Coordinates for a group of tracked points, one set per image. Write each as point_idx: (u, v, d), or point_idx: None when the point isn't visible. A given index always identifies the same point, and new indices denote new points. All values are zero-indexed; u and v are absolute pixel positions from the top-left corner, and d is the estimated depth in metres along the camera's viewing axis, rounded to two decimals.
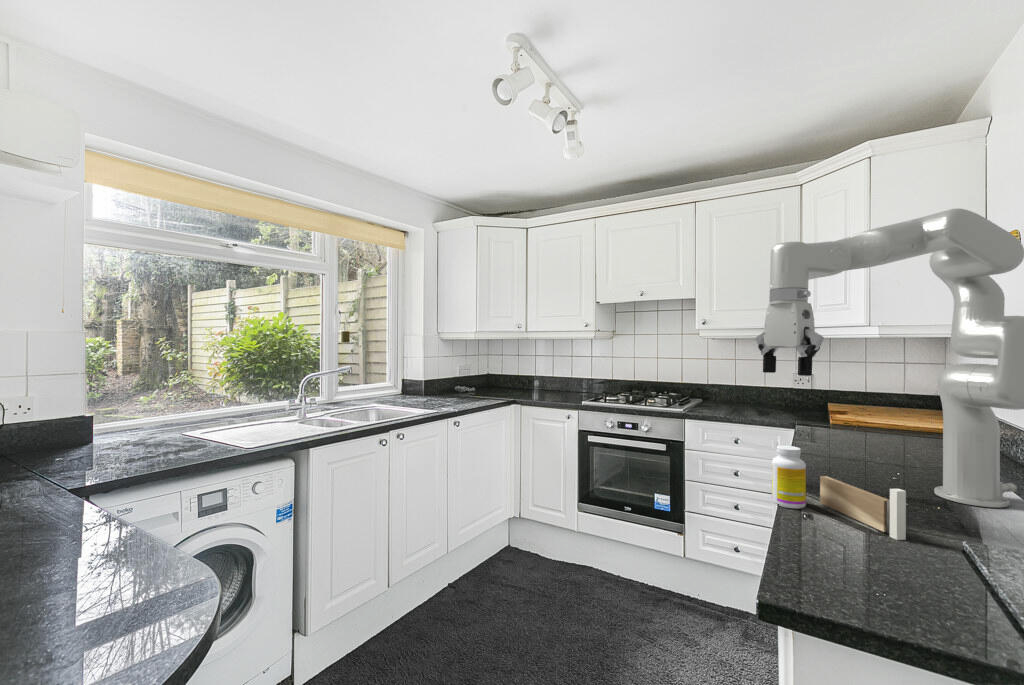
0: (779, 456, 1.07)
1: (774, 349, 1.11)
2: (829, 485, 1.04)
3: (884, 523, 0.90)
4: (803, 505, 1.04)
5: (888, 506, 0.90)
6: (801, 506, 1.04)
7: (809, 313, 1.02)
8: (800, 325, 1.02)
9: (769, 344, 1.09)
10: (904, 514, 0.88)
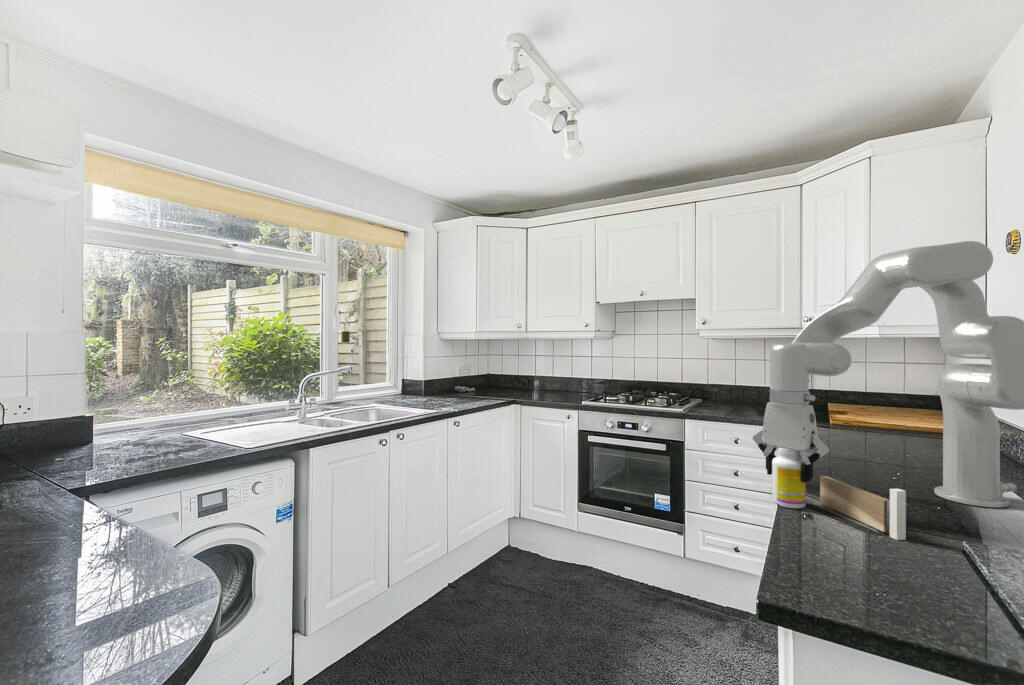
0: (779, 456, 1.07)
1: (774, 448, 1.10)
2: (829, 485, 1.04)
3: (884, 523, 0.90)
4: (803, 505, 1.04)
5: (888, 506, 0.90)
6: (801, 506, 1.04)
7: (813, 416, 1.03)
8: (809, 430, 1.02)
9: (771, 443, 1.08)
10: (904, 514, 0.88)
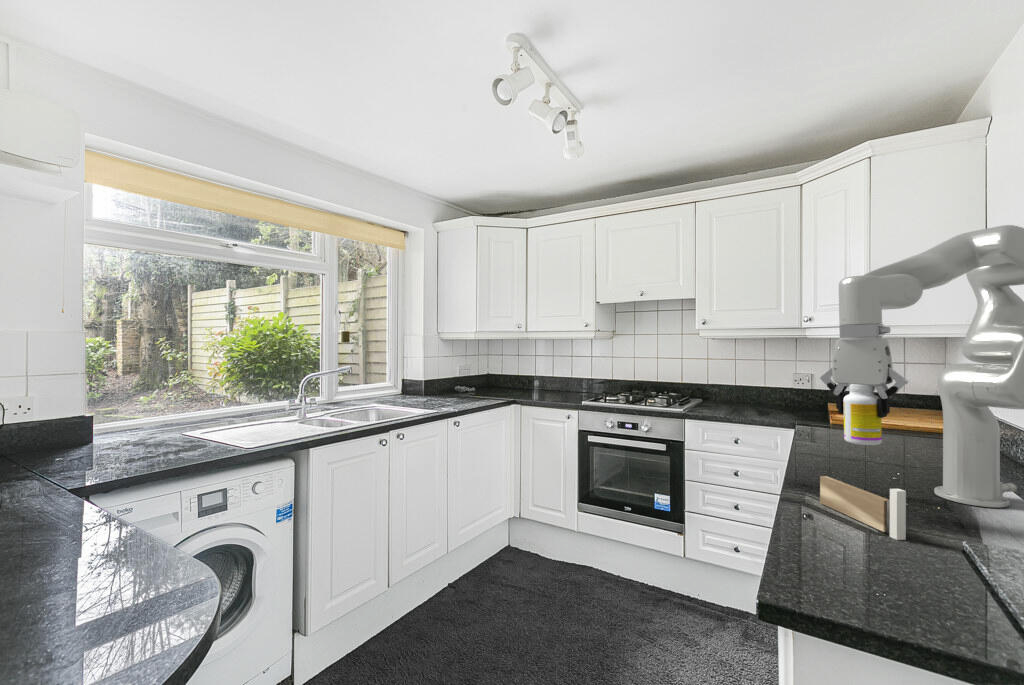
0: (852, 393, 1.03)
1: (845, 387, 1.06)
2: (829, 485, 1.04)
3: (884, 523, 0.90)
4: (880, 441, 1.00)
5: (888, 506, 0.90)
6: (878, 442, 1.00)
7: (888, 350, 1.00)
8: (885, 363, 0.98)
9: (842, 381, 1.04)
10: (904, 514, 0.88)
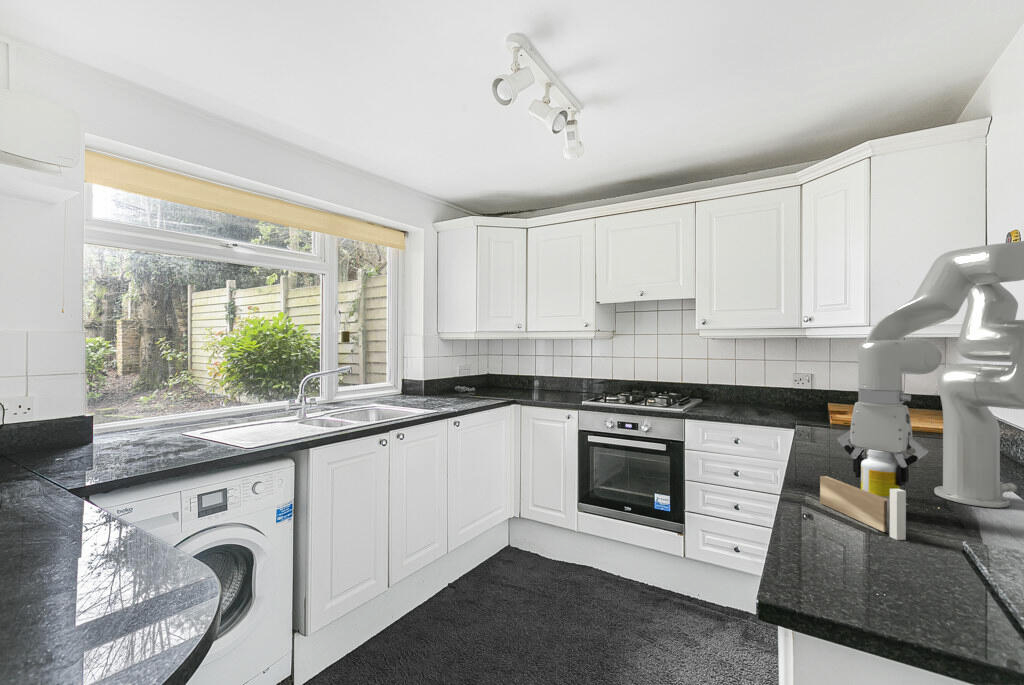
0: (870, 458, 1.02)
1: (862, 450, 1.05)
2: (829, 485, 1.04)
3: (884, 523, 0.90)
4: None
5: (888, 506, 0.90)
6: None
7: (908, 417, 0.99)
8: (905, 431, 0.97)
9: (860, 445, 1.03)
10: (904, 514, 0.88)
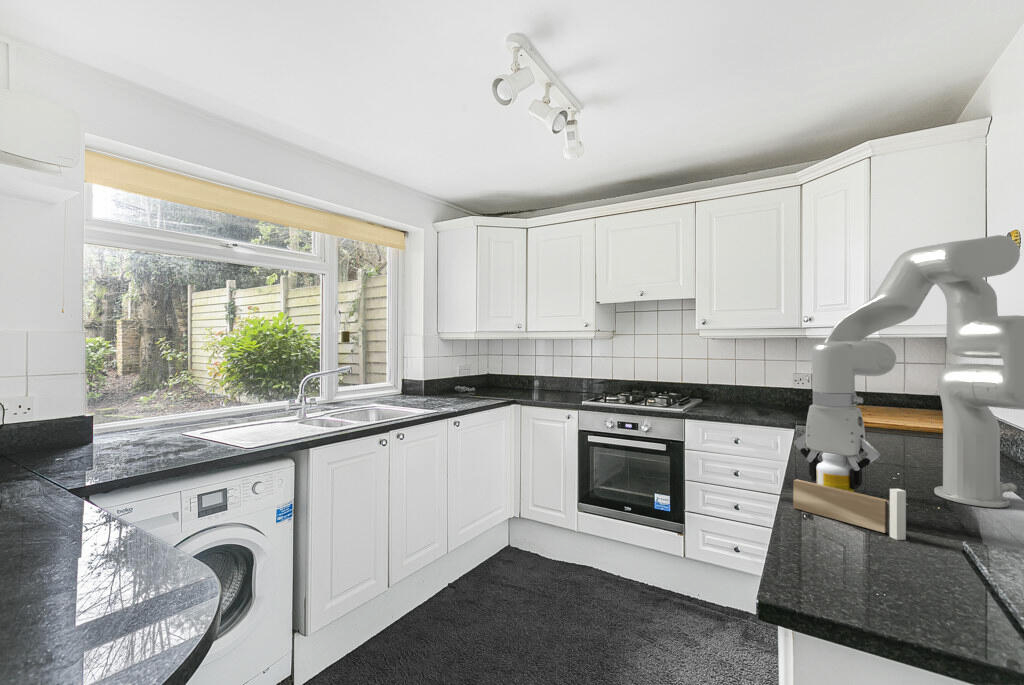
0: (825, 461, 1.01)
1: (818, 453, 1.05)
2: (807, 489, 1.01)
3: (885, 524, 0.90)
4: None
5: (889, 506, 0.90)
6: None
7: (861, 420, 0.98)
8: (857, 434, 0.96)
9: (815, 448, 1.02)
10: (904, 514, 0.88)
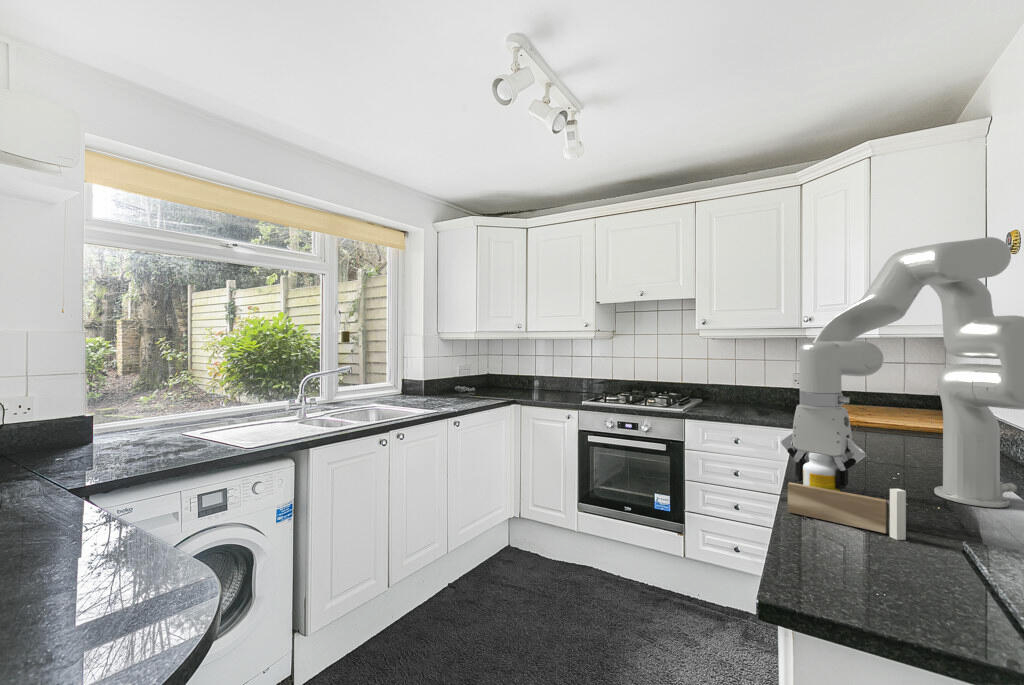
0: (811, 461, 1.01)
1: (805, 453, 1.04)
2: (802, 492, 0.99)
3: (885, 524, 0.90)
4: None
5: None
6: None
7: (847, 420, 0.98)
8: (843, 434, 0.96)
9: (801, 448, 1.02)
10: (904, 514, 0.88)
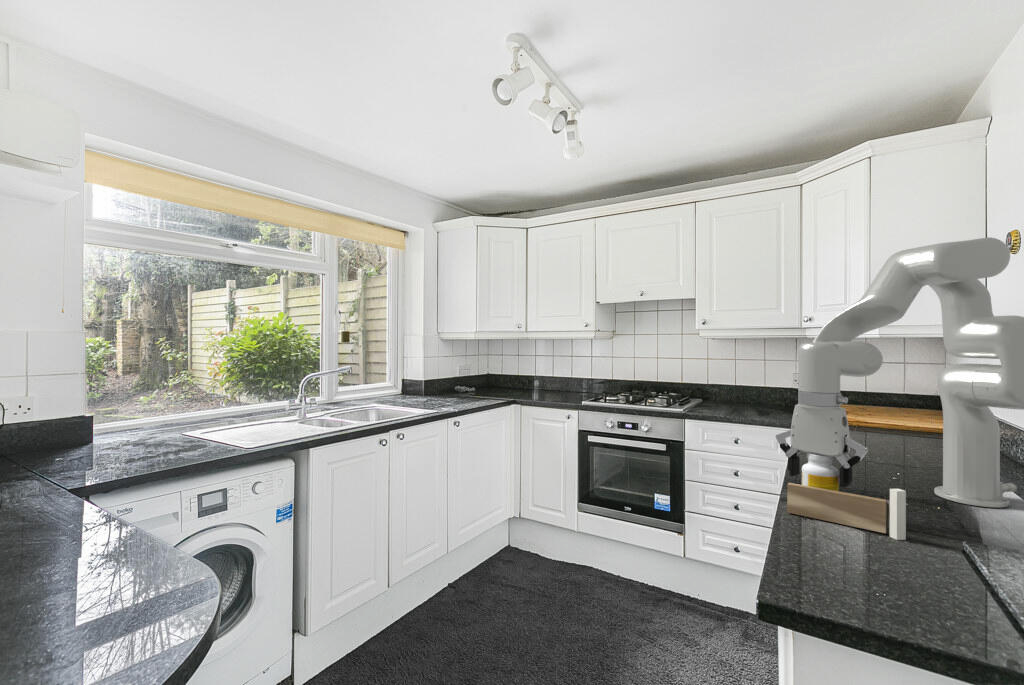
0: (810, 462, 1.01)
1: None
2: (802, 492, 0.99)
3: (885, 524, 0.90)
4: None
5: None
6: None
7: (845, 420, 0.98)
8: (841, 434, 0.96)
9: (799, 448, 1.02)
10: (904, 514, 0.88)
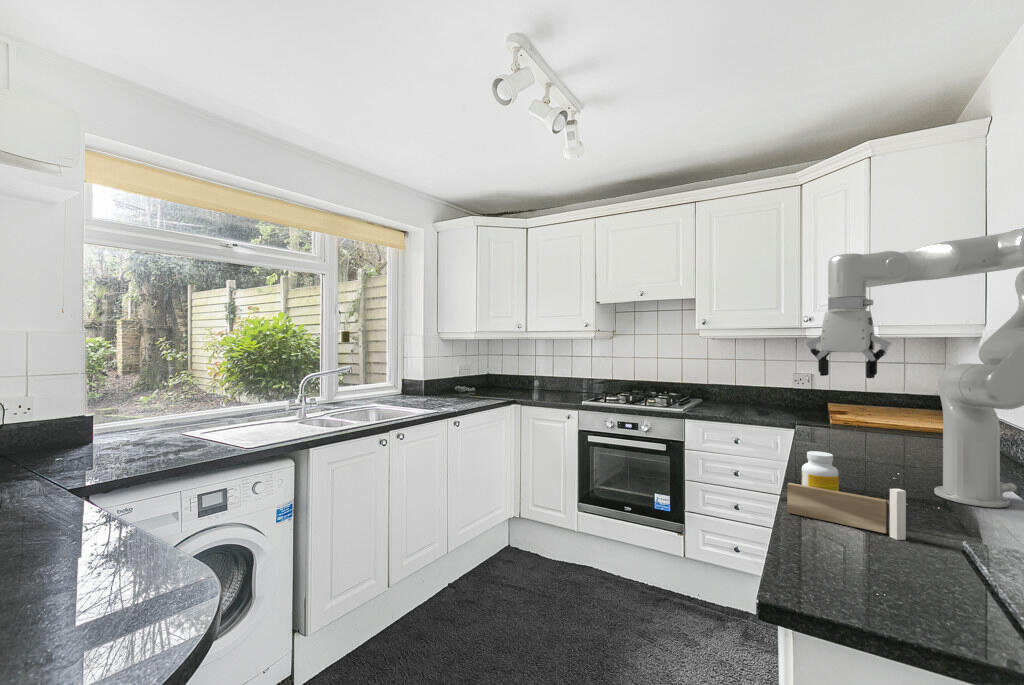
0: (810, 462, 1.01)
1: (827, 353, 1.18)
2: (802, 492, 0.99)
3: (885, 524, 0.90)
4: None
5: None
6: None
7: (871, 320, 1.11)
8: (868, 331, 1.09)
9: (829, 349, 1.15)
10: (904, 514, 0.88)
